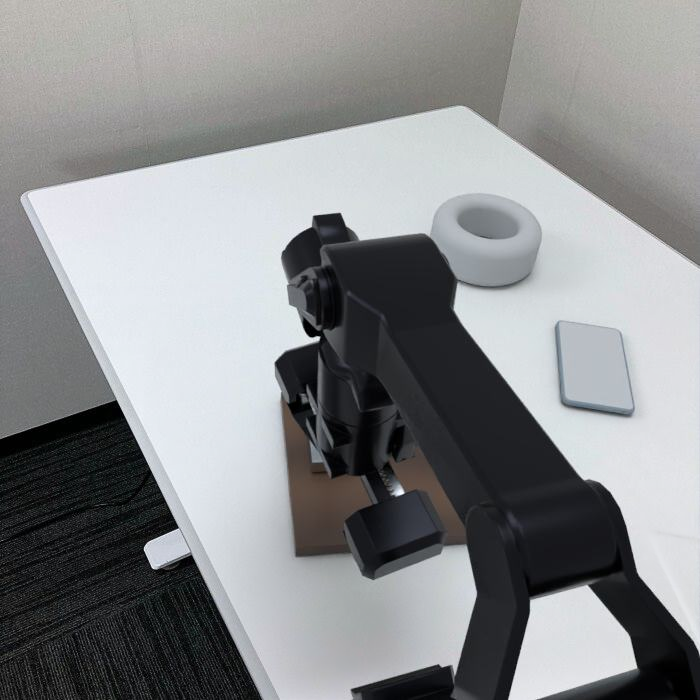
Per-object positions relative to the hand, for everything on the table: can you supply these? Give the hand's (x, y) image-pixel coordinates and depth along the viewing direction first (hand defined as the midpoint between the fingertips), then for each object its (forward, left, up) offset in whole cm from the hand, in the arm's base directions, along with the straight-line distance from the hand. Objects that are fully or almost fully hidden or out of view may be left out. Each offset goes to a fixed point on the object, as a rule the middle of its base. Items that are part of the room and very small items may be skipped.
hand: (348, 500), depth 63 cm
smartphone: (+25, -34, -12) cm, 44 cm away
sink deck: (+12, -6, -12) cm, 18 cm away
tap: (+16, -1, -10) cm, 19 cm away
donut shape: (+48, -26, -12) cm, 56 cm away
